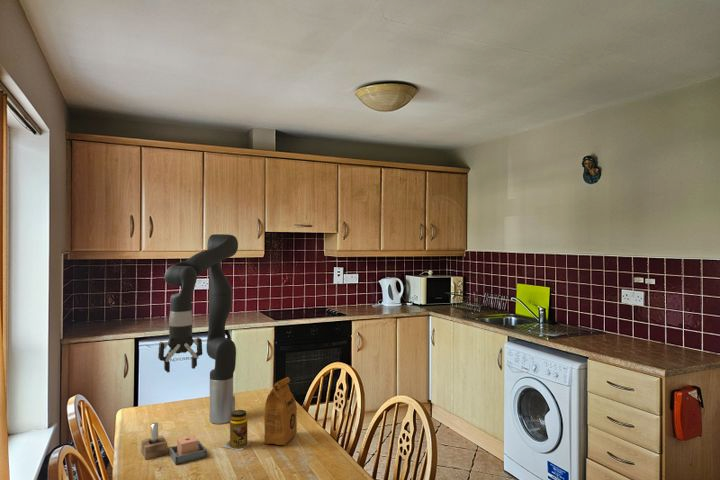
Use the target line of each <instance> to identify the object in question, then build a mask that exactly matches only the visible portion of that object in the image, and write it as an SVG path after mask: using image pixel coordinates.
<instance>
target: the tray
mask: <svg viewBox="0 0 720 480" xmlns="http://www.w3.org/2000/svg"><path fill="white" fill-rule="evenodd" d="M168 449H169V450H168V454H169V457H170V458H171V459H172V461H173V463H174V465H176V466H177V465H180V464H185V463H189V462H193V461H198V460H200V459H205V458H207V449H206V448H205V446H204V445H203V444H202V442H201V441H200V440H198V451H197V452H192V453H188V454H184V455H180V456H179V455H178V453H177V445H174V446H170V447H168Z"/></svg>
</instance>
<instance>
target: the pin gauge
mask: <svg viewBox="0 0 720 480" xmlns="http://www.w3.org/2000/svg"><path fill="white" fill-rule="evenodd" d="M150 431H151V432H150V438H151V444H154V443H158V437H159V422H153V423H151V425H150Z"/></svg>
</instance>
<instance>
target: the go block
mask: <svg viewBox="0 0 720 480" xmlns="http://www.w3.org/2000/svg"><path fill="white" fill-rule="evenodd" d="M140 441H141V442H140V443H141V447H140V449H141V450H140V451H141V454H142V456H143V458H144V459H145V460H149V459H154V458H158V457H162V456H165V455H166V456H167V455H168V441H167V439H166V438H165V437H164V436H163V435H158V443H154V444H151V437H150V438H146V439H141V440H140Z"/></svg>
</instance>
